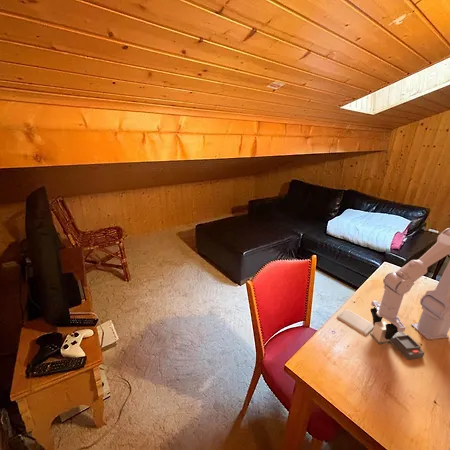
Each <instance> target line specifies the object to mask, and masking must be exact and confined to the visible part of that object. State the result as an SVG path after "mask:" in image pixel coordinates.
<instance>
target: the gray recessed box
mask: <svg viewBox="0 0 450 450" xmlns="http://www.w3.org/2000/svg"><path fill="white" fill-rule="evenodd" d="M389 341H390V344H392V345H393V346H394V347H395V348H396V349H397V350H398V351H399V352H400V354H401V355H403V356H404V358H405V359H406V360H407V361H408V360H416V359H417V360H418V359H423V358H424V356H425V351H424V350H422V349H421V348H422V347H421V345H419V344H418V343H417V342H416V341H415V339H413V338H412V336H410V335H409V334H406V333H405V331H404V332H397V333H396V334H395V335H394V336H393V337H392V338H391V339H389Z"/></svg>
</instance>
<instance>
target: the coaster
mask: <svg viewBox="0 0 450 450" xmlns="http://www.w3.org/2000/svg"><path fill="white" fill-rule="evenodd" d="M369 334H370V335H371V337H372V338H373V340H375V341H376V343H378V345H379V344H389V343H390V344H391V341H390V340H389V341H384V342H378V340H377V339H376V338H375V337H374V336H373V335H372V332H369Z"/></svg>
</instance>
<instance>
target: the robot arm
mask: <svg viewBox="0 0 450 450" xmlns="http://www.w3.org/2000/svg"><path fill="white" fill-rule="evenodd" d="M448 255H450V227H448V228H446V229H444V230H443V231H441V233H440V234H439V235H438V236H437V239H436V242H435V244H433V245H432V246H431V248H429V249H428V250H427V251H426V252H425V253H424V254H422V256H420V257H419V258H418V259H411V260H410V261H408V262H407V263H406V264H405V265H403V266H402V267H400V268H399V269H397V271H395V272H389V273H387V274H386V275H385V277H384V278H383V279H382V283H383V284H384V285H383V288H384V292H383V294H382V298H381V301H380V302H379V301H378V300H376V299H375V300H372V301H371V303H370V305H371V306H372V307H373V308H370V313H371V316H372V323H373V325H375V322H382V320H383V319H384V320H385V321H388V322H389V323H387V324H385V325H386V334H385V338H386V339H391V338H392V337H393V336H394V335H395V334H396V333H397V332H404V333H405V330H406V328H407V327H406V326H405V325H404V324H403V322H402V321H401V319H400V317H399V316H398V315H399V311H400V307H401V305H402V301H403V298H404V295H405V294H407V293H409V292H410V291H411V289H412V287H414V285H415V282H416V281H418V280H419V279H420V278H422V277H423V276H424V275H425V274H427V273H428V268H429V267H430V266H432V265H434V264H435V263H437V262H438V261H440V260H442V259H443V258H445V257H446V256H448ZM419 304H420V306H421V309H422V311H421V314H420V317H419V320H418V322H417V323H411V326H412V327H413V329H416V331H418V332H419V333H420V335H422V336H423V337H424V338H425V339H426V340H437V339H446V338H449V337H450V336H449V335H448V333H449V330H450V260H449V261H448V263H447V266H446V268H445V269H444V270H443V273H442V275H441V278H440V279H439V281H438V283H437V285H436V288H435V289H429V290H426V292H425V294H424V295H422V296H421V298H420V300H419Z"/></svg>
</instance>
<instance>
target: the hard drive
mask: <svg viewBox="0 0 450 450" xmlns="http://www.w3.org/2000/svg"><path fill="white" fill-rule="evenodd" d="M336 319H338V320H340V321H341V322H343V323H344V324H346V325H348V326H350V327H351V328H352V329H354V330H356V331H357V332H359V333H361V334H363V336H367V335H368V334H370V333H371V332H372V331H373V328H374V325H373V322H371V321H369V320H368V319H366V318H365V317H362V316H361V315H359V314H357V313H355V312H353V310H351V309H349V308H346V309H344V310H343V311H342V312H340V313H339V314H337V316H336Z"/></svg>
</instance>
